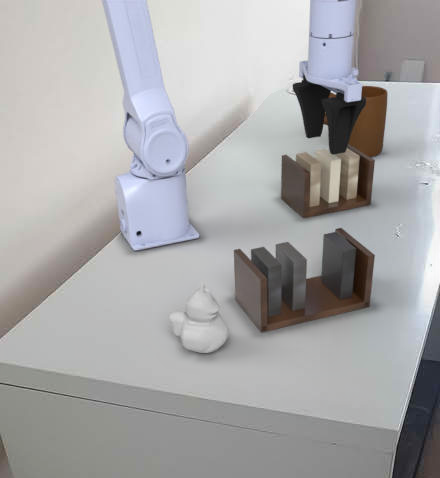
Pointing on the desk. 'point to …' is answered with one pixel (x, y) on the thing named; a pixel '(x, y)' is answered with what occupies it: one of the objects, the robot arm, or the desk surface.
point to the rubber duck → (200, 323)
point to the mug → (369, 122)
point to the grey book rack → (303, 282)
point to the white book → (329, 175)
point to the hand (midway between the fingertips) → (325, 144)
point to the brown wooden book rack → (308, 183)
